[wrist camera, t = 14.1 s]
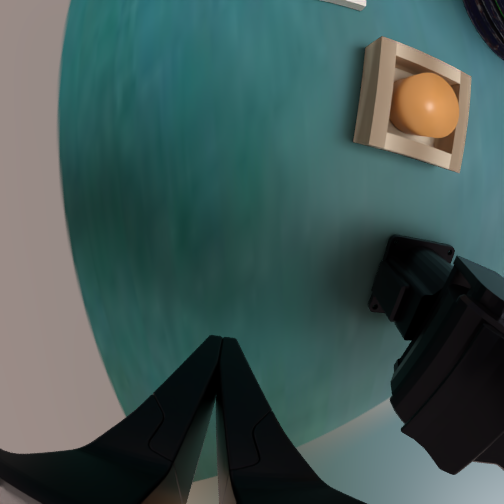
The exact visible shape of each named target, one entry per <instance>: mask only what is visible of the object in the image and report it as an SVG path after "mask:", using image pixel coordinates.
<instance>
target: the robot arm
mask: <svg viewBox="0 0 504 504" xmlns="http://www.w3.org/2000/svg"><path fill="white" fill-rule="evenodd" d="M395 240H397V243H396V244H394V241H395ZM449 250H450V252H449V253H448V251H449ZM454 252H455V250H454V248H453V247H452V246H450V245H447V244H442V243H437V242H432V241H427V240H422V239H417V238H411V237H406V236H401V235H393V236H391V237H390V239H389V241H388V245H387V248H386V252H385V255H384V258H383V261H382V262H381V263H380V266H379V269H378V272H377V275H376V278H375V281H374V284H373V287H372V295H371V298H370V301H369V303H368V307H369V309H370V311H371V312H379V313H385V314H386V315H387V317H388V319H389V320H390V321H391V322H394V323H395V325H396V327H397V328H398V330H399V332H400V333H401V335H402V337H403V338H404V340H411V343H410V344H409V346H408V347H407V349H406V350H405V352H404V353H403V355H402V356H401V358H400V359H398V360H397V361H396V363H395V364H394V374H393V377H392V380H391V390H392V396H391V398H390V402H391V404H392V406H393V408H394V411H395V412H396V414H397V415H398V416H399V418H400V419H401V421H403V423H404V424H405V425H404V426H403V427H402V428H401V432H402V433H404V434H406V435H408V436H409V437H411V438H413V439H414V440H415V441H417V442H418V443H419V444H420V445H421V446H422V447H424V448H425V450H426V451H427V452H428V453H429V455H430V456H431V457H432V459H433V460H434V462H435V463H436V465H437V466H438V467H439V468H440V469H441V470H443V471H445V472H447V473H449V474H452V475H455V474H457V473H458V472H460V471H461V470H462V469H464V468H465V467H466V466H467V465H469V464H470V463H471V462H479V463H489V464H496V465H498V466H499V467H501V468H502V469H503V470H504V278H503V277H502V276H500V275H499V274H498V273H496V272H494V271H492V270H490V269H488V268H486V267H483V266H481V265H479V264H476V263H474V262H472V261H470V260H467V259H465V258H462V257H460V256H458V255H457V256H456V258H455V260H454V263H453V264H454V266H452V265H451V261H452V258H453V255H454ZM375 304H376V306H374V307H373V305H375ZM215 398H216V440H217V469H218V490H219V504H367V503H365V502H362V501H360V500H357V499H355V498H353V497H351V496H349V495H346V494H344V493H342V492H340V491H338V490H336V489H333V488H332V487H330V486H329V485H327V484H326V483H325V482H324V481H322V480H321V479H320V478H319V477H318V475H317V474H316V473H315V472H314V471H313V470H312V468H311V467H310V466H309V464H308V463H307V462H306V461H305V459H304V458H303V457H302V456H301V454H300V453H299V452H298V450H297V449H296V448H295V446H294V445H293V444H292V442H291V441H290V440H289V438H288V437H287V435H286V434H285V432H284V431H283V429H282V427H281V426H280V424H279V422H278V420H277V419H276V417H275V415H274V413H273V411H272V409H271V407H270V405H269V404H268V402H267V400H266V398H265V396H264V394H263V392H262V390H261V388H260V386H259V384H258V382H257V380H256V378H255V376H254V374H253V372H252V370H251V368H250V366H249V364H248V362H247V360H246V358H245V356H244V354H243V352H242V350H241V348H240V345H239V343H238V341H237V339H235V338H230V337H224V338H222V337H221V336H215V335H210V336H209V337H208V338H207V339H206V340H205V341H204V342H203V343H202V344H201V345H200V346H199V347H198V348H197V349H196V350H195V351H194V352H193V353H192V354H191V355H190V356H189V357H188V358H187V359H186V360H185V361H184V363H183V364H182V365H181V366H180V367H179V368H178V369H177V370H176V371H175V372H174V373H173V374H172V375H171V376H170V377H169V378H168V379H167V380H166V381H165V382H164V383H163V384H162V385H161V386H160V387H159V388H158V389H157V390H156V391H155V392H154V393H153V395H151V396H150V397H149V398H148V399H147V400H146V401H145V402H144V403H142V404H141V405H140V406H139V407H138V408H137V409H136V410H135V411H134V412H132V413H131V414H130V415H128V416H127V417H126V418H125V419H123V420H122V421H121V422H119V423H118V424H117V425H115V426H114V427H112V428H111V429H110V430H108V431H107V432H105V433H104V434H103V435H101V436H100V437H98V438H97V439H96V440H94V441H92V442H91V443H89V444H87V445H85V446H83V447H81V448H78V449H73V450H66V451H56V452H45V453H32V454H16V453H10V452H7V451H4V450H2V449H0V504H186V503H187V499H188V496H189V492H190V489H191V485H192V481H193V478H194V474H195V471H196V467H197V464H198V460H199V457H200V453H201V450H202V446H203V443H204V439H205V436H206V432H207V428H208V425H209V421H210V418H211V414H212V411H213V407H214V403H215Z"/></svg>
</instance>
